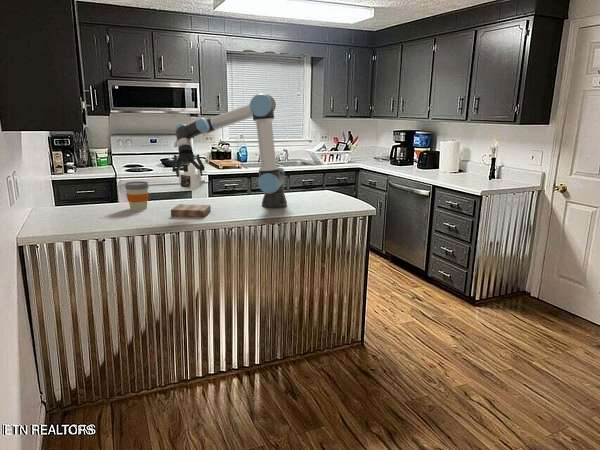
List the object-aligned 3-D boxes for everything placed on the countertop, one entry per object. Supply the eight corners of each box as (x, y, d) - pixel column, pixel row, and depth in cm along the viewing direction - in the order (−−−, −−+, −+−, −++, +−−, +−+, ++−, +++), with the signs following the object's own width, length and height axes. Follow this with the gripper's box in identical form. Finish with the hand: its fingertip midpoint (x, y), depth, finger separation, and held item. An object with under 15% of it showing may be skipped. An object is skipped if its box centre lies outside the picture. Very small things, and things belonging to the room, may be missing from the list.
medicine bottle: (180, 187, 237) (179, 165, 234) (189, 185, 243) (188, 163, 240) (190, 188, 234) (189, 166, 231) (199, 186, 240) (198, 164, 237)
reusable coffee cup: (122, 209, 251) (119, 183, 248) (139, 205, 262) (137, 180, 258) (138, 212, 246) (135, 185, 242) (154, 208, 257) (153, 182, 253)
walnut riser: (210, 212, 248) (210, 205, 247) (204, 217, 235) (204, 210, 234) (179, 211, 249) (178, 204, 248) (171, 217, 235) (170, 209, 234)
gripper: (204, 152, 252) (210, 183, 242) (164, 153, 244) (168, 185, 234) (205, 143, 246) (212, 175, 236) (164, 144, 238) (169, 177, 228)
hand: (190, 180), depth 235 cm, fingers closed on medicine bottle, 10 cm apart
